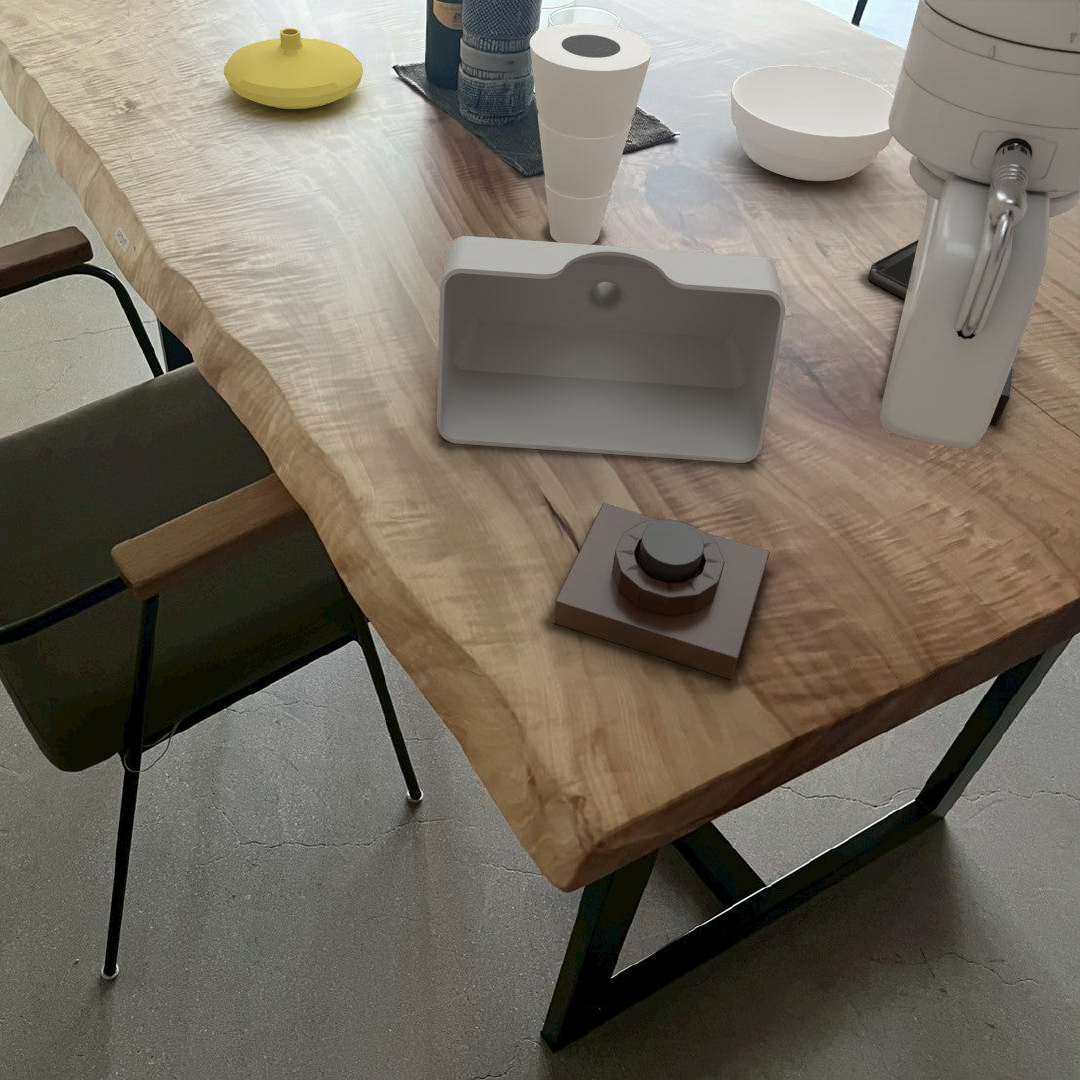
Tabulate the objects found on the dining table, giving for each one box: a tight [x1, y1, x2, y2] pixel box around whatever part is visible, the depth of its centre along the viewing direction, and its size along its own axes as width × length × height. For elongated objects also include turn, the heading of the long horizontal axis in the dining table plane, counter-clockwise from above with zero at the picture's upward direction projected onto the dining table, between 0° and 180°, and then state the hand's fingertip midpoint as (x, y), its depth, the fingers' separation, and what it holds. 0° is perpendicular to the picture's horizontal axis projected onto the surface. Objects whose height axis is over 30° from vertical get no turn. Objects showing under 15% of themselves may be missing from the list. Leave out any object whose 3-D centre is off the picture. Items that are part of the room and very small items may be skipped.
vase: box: [223, 27, 364, 110], centre depth 120 cm, size 16×16×7 cm
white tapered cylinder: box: [529, 22, 653, 245], centre depth 97 cm, size 11×11×18 cm
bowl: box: [730, 64, 894, 182], centre depth 115 cm, size 18×18×7 cm
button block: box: [553, 502, 771, 680], centre depth 69 cm, size 12×10×4 cm
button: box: [639, 519, 704, 583], centre depth 67 cm, size 4×4×2 cm
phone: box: [867, 239, 919, 300], centre depth 102 cm, size 8×1×15 cm
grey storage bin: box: [436, 235, 786, 464], centre depth 82 cm, size 25×16×12 cm, turn 88°
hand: (915, 401), depth 48 cm, fingers closed
